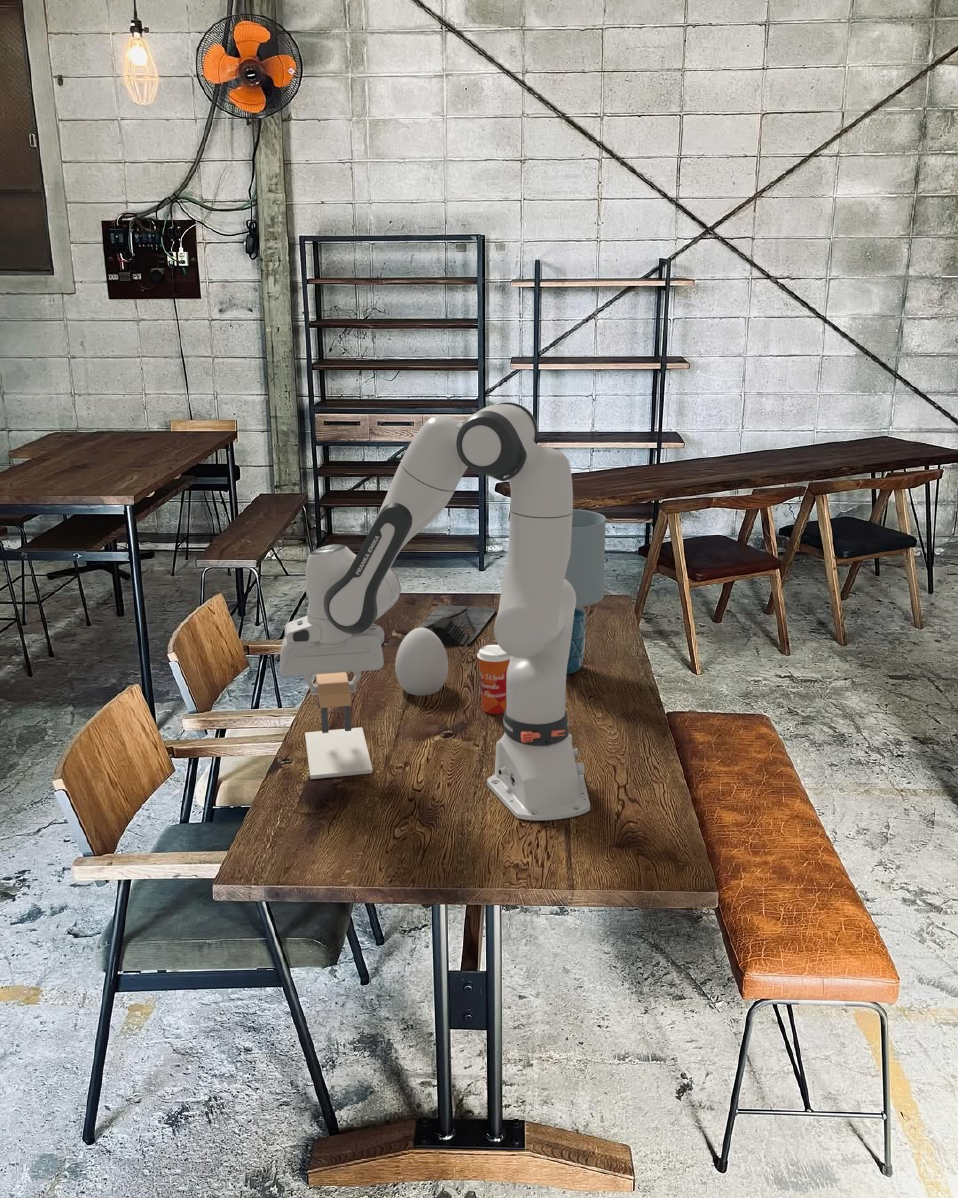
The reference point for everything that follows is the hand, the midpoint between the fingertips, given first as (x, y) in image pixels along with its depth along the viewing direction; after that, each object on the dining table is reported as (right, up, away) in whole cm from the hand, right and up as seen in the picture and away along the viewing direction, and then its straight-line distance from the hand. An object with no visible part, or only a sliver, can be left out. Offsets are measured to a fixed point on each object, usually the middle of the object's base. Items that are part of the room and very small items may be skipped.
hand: (333, 692), depth 210 cm
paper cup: (+33, -6, +25) cm, 41 cm away
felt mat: (0, -13, +4) cm, 13 cm away
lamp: (+49, +1, +48) cm, 68 cm away
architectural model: (+22, +10, +79) cm, 82 cm away
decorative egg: (+16, -3, +36) cm, 40 cm away
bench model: (0, -5, +2) cm, 6 cm away
